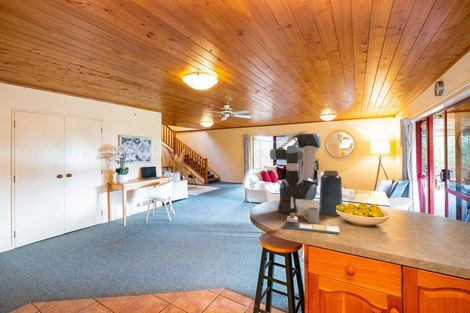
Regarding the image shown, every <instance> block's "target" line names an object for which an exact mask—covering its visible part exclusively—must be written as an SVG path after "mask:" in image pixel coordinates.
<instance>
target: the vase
mask: <svg viewBox="0 0 470 313" xmlns="http://www.w3.org/2000/svg"><path fill="white" fill-rule="evenodd" d="M319 178H320V180H319V182H320V184H319V205H318V206H319V207H318V209H319V214H322V215H325V216H329V217H330V216H332V217H333V216H334V217H335V216H337V217H339V216H338V214H337V212H336V206H337V205H340V204H343V191H342V190H343V187H342V186H343V184H342V177H341V175H339V171H338V170H324V171H323V175H321V176H320V177H319Z"/></svg>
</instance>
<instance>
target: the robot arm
mask: <svg viewBox="0 0 470 313" xmlns="http://www.w3.org/2000/svg"><path fill="white" fill-rule="evenodd" d="M321 147H322V141H321V136H320V134H319V133H314V132H312V133H299V134H295V135H292V136H291V137H289V138H288V139H287V140H286V142H284V143H283V144H281V145H280V146H279V147H278V148H271V149H270V151H269V157H270V159H271V161H273V160H274V161H285V169H286V171H285V178H284V180H282V181H281V182H280V183H279V203H278V205H277V212H278V213H280V214H284V215H290V213H295V214H298V213H299V212H298V211H299V210H298V206H297V203H296V200H302V201H311V202H312V201H314V200H315V199H316V196H317V191H318V187H317V185H316V182H315V181H314V174H315V173H314V172H315V166H316V165H315V164H316V155H317V152H318V151H319V149H321ZM301 160H302V167H301V177H300V178H301V179H300V178H299V174H300V171H299V169H300V168H299V166H300V165H299V162H300V161H301Z"/></svg>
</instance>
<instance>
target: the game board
mask: <svg viewBox="0 0 470 313" xmlns="http://www.w3.org/2000/svg"><path fill="white" fill-rule="evenodd" d="M283 229H289V230H290V229H291V230H299V231H307V232H308V231H309V232H315V233H316V232H317V233H323V232H324V233H326V234H333V235H339V233H340V228H339V226H336V225H327V224H319V223H318V224H311V223H308V222H301V221H299V220H298V221H297V222H289V221H287V220H286V221H285V223H284V225H283ZM324 233H323V234H324Z"/></svg>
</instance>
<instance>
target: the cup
mask: <svg viewBox="0 0 470 313" xmlns="http://www.w3.org/2000/svg"><path fill="white" fill-rule="evenodd" d="M306 214H307V216H306ZM302 216H303V218H304V219H305V220H307V223H310V224H319V223H320V211H319V207H314V206H313V207H312V206H311V207H310V206H309V207H307V209H304V210H303V214H302Z"/></svg>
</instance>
